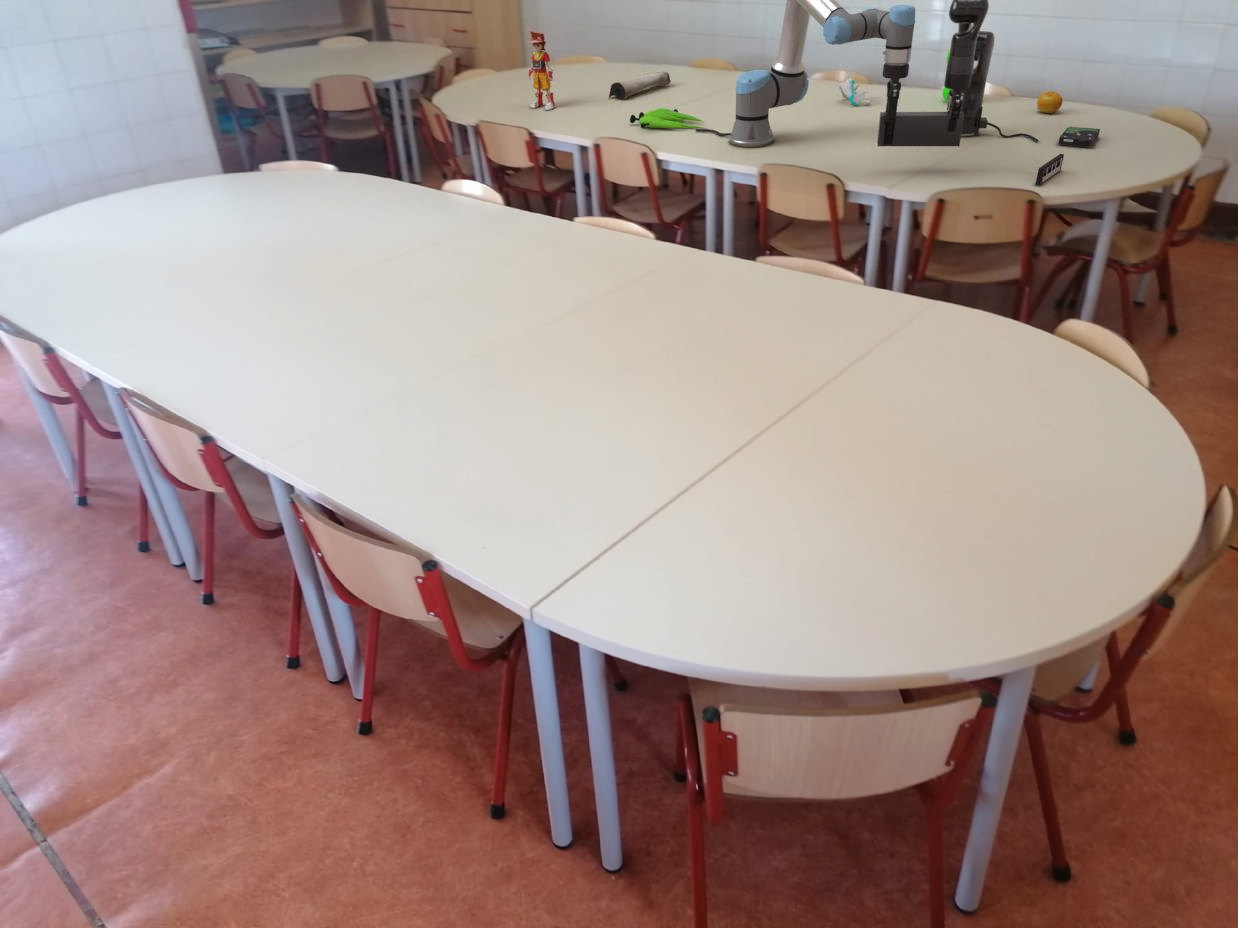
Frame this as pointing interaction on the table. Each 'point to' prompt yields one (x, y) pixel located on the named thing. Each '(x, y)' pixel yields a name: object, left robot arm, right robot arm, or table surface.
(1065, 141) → the disk drive
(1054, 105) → the fruit
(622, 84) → the rolled mat
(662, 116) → the toy
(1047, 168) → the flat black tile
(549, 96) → the toy
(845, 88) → the anatomical model
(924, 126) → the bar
